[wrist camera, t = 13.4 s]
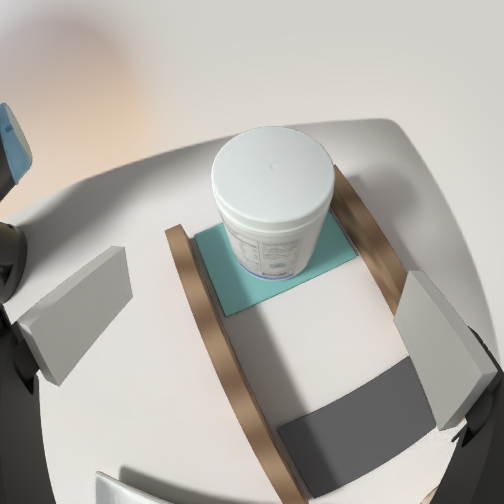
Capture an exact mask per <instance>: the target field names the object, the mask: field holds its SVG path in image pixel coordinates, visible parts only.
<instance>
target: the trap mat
mask: <svg viewBox="0 0 504 504" xmlns="http://www.w3.org/2000/svg"><path fill="white" fill-rule="evenodd" d="M435 427H436V424H435V421H434V418H433V415H432V413H431V410H430V407H429V405H428V402H427V399H426V397H425V394H424V392H423V389H422V387H421V384H420V382H419V379H418V377H417V375H416V372H415V370H414V368H413V365H412V363H411V361H410V359H409V357H406V358H405V359H403V360H402V361H400V362H399V363H397V364H396V365H395V366H393V367H392V368H390V369H389V370H387V371H385V372H384V373H382V374H381V375H379V376H378V377H376V378H374V379H373V380H371V381H370V382H368V383H366V384H365V385H363V386H361V387H360V388H358V389H356V390H354V391H353V392H351V393H349V394H347V395H345V396H344V397H342V398H340V399H338V400H336V401H334V402H332V403H330V404H328V405H327V406H325V407H323V408H321V409H319V410H316V411H314V412H312V413H310V414H308V415H306V416H304V417H302V418H299V419H297V420H295V421H293V422H290V423H288V424H286V425H283V426H281V427H279V428H277V429H278V431H279V433H280V435H281V437H282V439H283V441H284V443H285V445H286V447H287V449H288V451H289V453H290V455H291V457H292V459H293V461H294V462H295V464H296V466H297V468H298V470H299V472H300V474H301V476H302V477H303V479H304V481H305V483H306V485H307V487H308V488H309V490H310V492H311V494H312V496H313V497H314V499H315V498H317V497H320V496H322V495H325V494H327V493H329V492H331V491H333V490H336V489H338V488H340V487H342V486H344V485H346V484H348V483H350V482H352V481H354V480H356V479H358V478H360V477H361V476H363V475H365V474H367V473H369V472H370V471H372V470H374V469H376V468H377V467H379V466H381V465H382V464H384V463H386V462H387V461H389V460H390V459H392V458H394V457H395V456H397V455H398V454H400V453H401V452H403V451H404V450H406V449H407V448H408V447H410V446H411V445H413V444H414V443H415V442H417V441H418V440H419V439H421V438H422V437H423V436H425V435H426V434H427V433H429V432H430V431H431V430H432V429H434V428H435Z"/></svg>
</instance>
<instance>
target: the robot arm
mask: <svg viewBox="0 0 504 504" xmlns="http://www.w3.org/2000/svg"><path fill="white" fill-rule="evenodd" d="M31 164H32V153H31V150H30V147H29V145H28V142H27V140H26V138H25V136H24V134H23V132H22V130H21V128H20V125H19V124H18V121H17V120H16V118H15V116H14V114H13V113H12V111H11V109H10V107H9V106H8V105H7V104H6V103H2V104H1V105H0V202H1V201H2V200H3V198H4V197H5V196H6V195H7V194H8V193H9V191H10V190H11V189H12V188H13V187H14V186H15V185H17V184H18V183H19V180H20V179H21V178H22V177H23V176H24V174H25V173H26V172H27V171H28V170H29V169H30V167H31ZM25 260H26V240H25V236H24V234H23V233H22V232H21V231H20V230H19V229H18V228H16V227H15V226H13V225H11V224H5V223H2V222H0V504H56V502H55V498H54V495H53V491H52V487H51V483H50V478H49V474H48V469H47V463H46V458H45V452H44V445H43V437H42V428H41V417H40V401H39V379H38V376H37V374H36V372H37V371H38V370H39V369H40V370H41V372H42V374H43V375H44V377H45V379H46V380H47V381H49V382H51V383H53V384H55V385H57V386H60V385H61V384H62V382H63V381H64V380H65V378H66V377H67V376H68V374H69V373H70V372H71V371H72V369H73V368H74V367H75V365H76V364H77V363H78V362H79V360H80V359H81V358H82V357H83V355H84V354H85V353H86V352H87V350H88V349H89V348H90V347H91V346H92V344H93V343H94V342H95V341H96V339H97V338H98V337H99V336H100V335H101V333H102V332H103V331H104V330H105V329H106V327H107V326H108V325H109V324H110V323H111V322H112V320H113V319H114V318H115V317H116V316H117V315H118V313H119V312H120V311H121V310H122V309H123V308H124V307H125V305H126V304H127V303H128V302H129V301H130V300H131V299H132V297H133V295H132V290H131V284H130V279H129V273H128V267H127V260H126V253H125V247H117V246H111V247H110V248H109V249H107V250H106V251H104V252H103V253H102V254H100V255H99V256H97V257H96V258H95V259H93V260H92V261H90V262H89V263H88V264H86V265H85V266H84V267H82V268H81V269H80V270H78V271H77V272H76V273H74V274H73V275H72V276H70V277H69V278H68V279H67V280H65V281H64V282H63V283H61V284H60V285H59V286H58V287H56V288H55V289H54V290H53V291H51V292H50V293H49V294H47V295H46V296H45V297H44V298H42V299H41V300H40V301H39V302H38V303H36V304H35V305H34V306H33V307H32V308H30V309H29V310H28V311H27V312H26V313H25V314H24V315H22V316H21V317H20V318H19V319H18V320H17V321H16V322H14V323H13V324H12V325H11V323H10V321H9V318H8V316H7V314H6V311H5V309H4V306H3V305H2V303H4V302H6V301H7V300H8V299H9V298H10V297H11V295H12V294H13V293H14V291H15V289H16V287H17V285H18V283H19V281H20V278H21V276H22V272H23V269H24V265H25ZM393 321H394V323H395V325H396V327H397V329H398V331H399V333H400V336H401V338H402V340H403V342H404V344H405V346H406V349H407V351H408V353H409V355H410V358H411V360H412V362H413V364H414V367H415V369H416V371H417V374H418V376H419V379H420V381H421V383H422V386H423V388H424V391H425V394H426V396H427V399H428V401H429V404H430V407H431V409H432V412H433V415H434V418H435V421H436V423H437V426H438V429H439V431H442V430H446V429H450V428H454V427H456V426H457V425H458V423H459V422H460V421H461V420H462V419H463V418H464V416H465V418H466V421H467V423H466V425H465V426H464V427H463V428H462V429H461V430H460V431H459V432H458V433H457V434H456V435H455V437H454V438H453V439H452V441H451V442H454V441H455V440H456V439H457V438H458V437H459V440H458V442H457V445H456V448H455V450H454V453H453V455H452V458H451V460H450V463H449V465H448V467H447V469H446V472H445V474H444V476H443V478H442V480H441V482H440V484H439V486H438V488H437V490H436V492H435V494H434V496H433V498H432V499H431V501H430V503H429V504H504V372H503V371H502V369H501V367H500V366H499V364H498V363H497V361H496V360H495V358H494V357H493V355H492V354H491V352H490V351H489V350H488V348H487V346H486V345H485V344H483V341H482V339H481V338H480V337H479V335H478V334H477V333H476V332H475V331H474V330H473V329H471V328H470V327H469V326H467V325H466V324H465V322H464V321H463V320H462V318H461V317H460V316H459V314H458V313H457V312H456V310H455V309H454V308H453V307H452V305H451V304H450V303H449V302H448V300H447V299H446V298H445V297H444V296H443V294H442V293H441V292H440V291H439V290H438V288H437V287H436V286H435V285H434V284H433V282H432V281H431V280H430V279H429V278H428V277H427V276H426V274H425V273H424V272H423V271H416V270H409V272H408V275H407V279H406V282H405V286H404V289H403V292H402V296H401V299H400V302H399V305H398V308H397V311H396V314H395V317H394V320H393Z"/></svg>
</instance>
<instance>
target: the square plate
mask: <svg viewBox="0 0 504 504" xmlns="http://www.w3.org/2000/svg"><path fill="white" fill-rule="evenodd" d="M94 503H95V504H173V503H170V502H168V501H165V500H162V499H160V498H157V497H155V496H152V495H150V494H148V493H145V492H143V491H141V490H138V489H136V488H134V487H132V486H129V485H127V484H125V483H123V482H121V481H118V480H116V479H114V478H112V477H110V476H109V475H106V474H104V473H102V472H100V471H97V472H96V473H95V477H94Z"/></svg>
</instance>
